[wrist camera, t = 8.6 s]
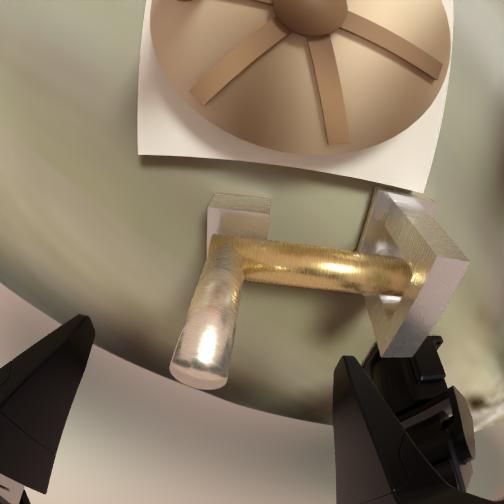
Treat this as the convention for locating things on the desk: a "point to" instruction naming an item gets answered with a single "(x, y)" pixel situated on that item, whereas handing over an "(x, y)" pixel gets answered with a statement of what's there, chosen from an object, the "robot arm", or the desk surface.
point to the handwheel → (305, 67)
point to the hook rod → (267, 271)
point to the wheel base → (232, 148)
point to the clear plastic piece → (382, 243)
